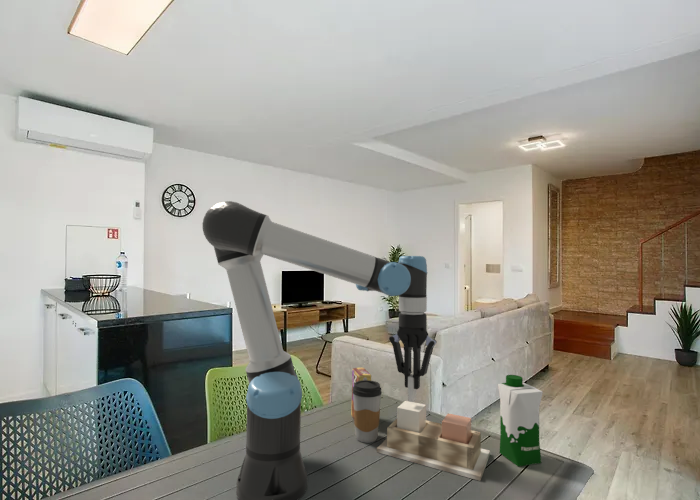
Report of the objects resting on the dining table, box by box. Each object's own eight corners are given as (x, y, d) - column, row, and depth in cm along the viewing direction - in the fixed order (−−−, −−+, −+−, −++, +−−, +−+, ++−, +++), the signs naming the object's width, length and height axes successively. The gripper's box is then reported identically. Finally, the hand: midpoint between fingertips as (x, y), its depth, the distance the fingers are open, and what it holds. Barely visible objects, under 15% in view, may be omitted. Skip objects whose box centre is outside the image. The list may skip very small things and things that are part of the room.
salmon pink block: (441, 449, 95) (441, 421, 95) (447, 440, 100) (448, 413, 100) (466, 455, 92) (466, 426, 92) (471, 445, 97) (471, 418, 98)
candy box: (371, 425, 116) (371, 374, 116) (357, 426, 115) (358, 375, 115) (363, 414, 124) (364, 367, 125) (350, 415, 123) (351, 367, 124)
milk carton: (522, 447, 103) (521, 373, 103) (547, 465, 94) (547, 383, 95) (494, 451, 100) (494, 375, 101) (517, 469, 92) (517, 386, 92)
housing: (376, 452, 99) (377, 428, 99) (396, 431, 111) (397, 411, 112) (480, 481, 87) (480, 454, 87) (490, 454, 99) (490, 431, 99)
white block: (396, 434, 101) (397, 407, 101) (405, 425, 106) (405, 400, 106) (418, 439, 98) (418, 412, 98) (425, 430, 103) (426, 404, 103)
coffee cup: (381, 432, 111) (382, 380, 112) (380, 445, 103) (381, 389, 103) (353, 430, 112) (353, 379, 112) (350, 443, 104) (351, 388, 104)
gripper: (440, 312, 103) (439, 400, 102) (395, 309, 110) (394, 392, 109) (432, 315, 97) (431, 409, 96) (385, 312, 103) (384, 400, 102)
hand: (412, 400), depth 102 cm, fingers closed
